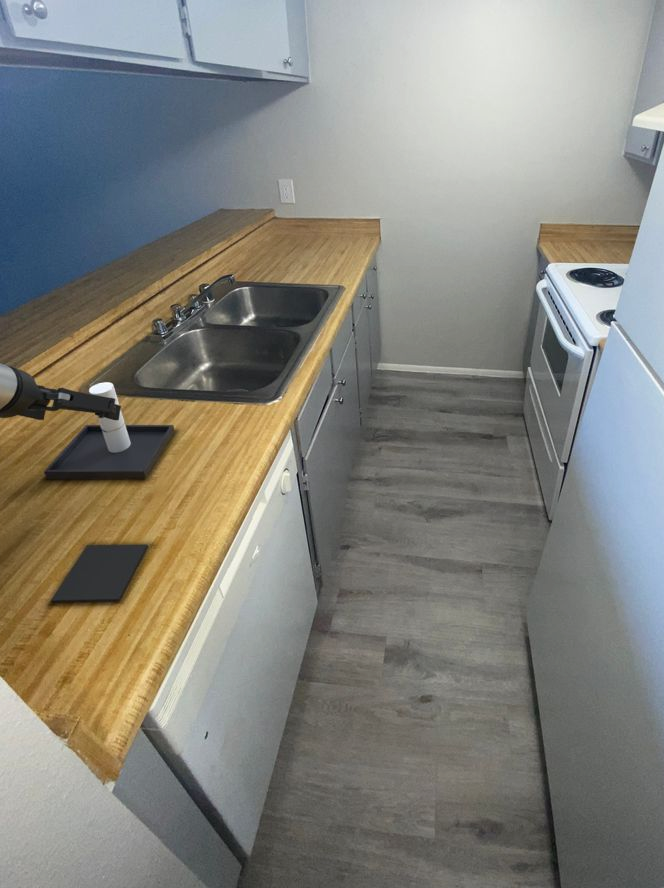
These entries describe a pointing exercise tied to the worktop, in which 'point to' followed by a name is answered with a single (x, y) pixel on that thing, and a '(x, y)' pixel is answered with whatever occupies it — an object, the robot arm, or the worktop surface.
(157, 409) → the worktop surface
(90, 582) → the mat
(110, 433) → the tube
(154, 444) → the tray
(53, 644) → the worktop surface
